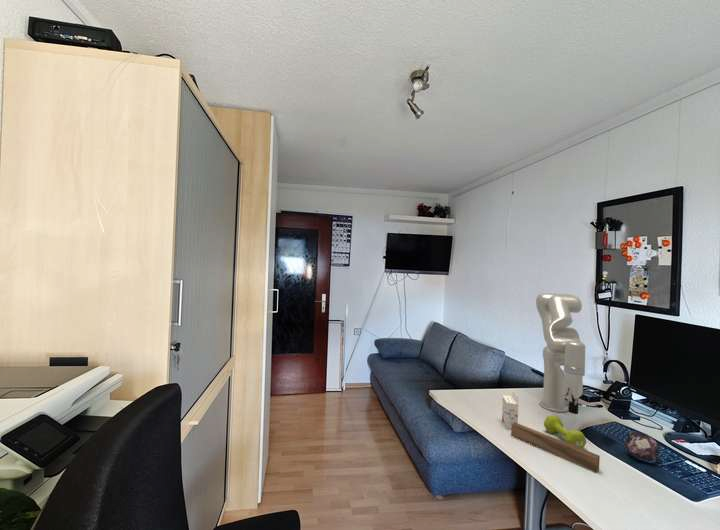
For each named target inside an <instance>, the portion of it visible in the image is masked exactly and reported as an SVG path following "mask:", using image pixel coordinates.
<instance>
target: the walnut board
mask: <svg viewBox="0 0 720 530" xmlns="http://www.w3.org/2000/svg"><path fill="white" fill-rule="evenodd" d="M510 430H511V431H510V433H511V434H510V436H511V435H512V436H514V437H513V438H515V437H516V438H515V439H517V438H518V439H517V440H519V439H520V440H519V441H522V442H524V441H525V443H526V442H527V443H526V444H529V443H530V444H529V445H531V444H532V445H531V446H533V445H534V447H536V446H537V447H536V448H538V447H539V448H538V449H540V448H541V450H542V449H543V451H545V452H547V453H549V454H552V455H554V456H557V457H559V458H561V459H563V460H566V461H568V462H570V463H572V464H575V465H578V466H580V467H582V468H584V469H587V470H589V471H591V472H594V473H598V472H599V471H600V460H601V459H600V458H601V456H600V455H599V454H596V453H593V452H591V451H589V450H587V449H584V448H583V449H581V448H579V447H576V446H574V445H571V444H569V443H566V441H565V440H561V439H558V438H556V437H554V436H550V435H549V434H547V433H543V432H540V431H539V430H536V429H534V428H531V427H528V426H526V425H523V424H520V423H519V422H518V423H516V422H514V423H513V424H512V426H511V429H510ZM512 436H511V437H512Z"/></svg>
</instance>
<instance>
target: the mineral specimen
mask: <svg viewBox="0 0 720 530" xmlns="http://www.w3.org/2000/svg"><path fill="white" fill-rule="evenodd" d="M624 448H625V450H626V451H627V452H628V453H629V454H630V455H631V454H632V455H633V456H635V457H637V458H640V459H644V460H647V461H653V462H654V463H656V460H657V458H658V457H659V455H660V453H661V450H660V446H659V444H658V443H657V441H656V440H655V439H654V438H652V437H651V436H650V435H648V434H647V433H643V432H640V431H637V430H631V431H630V432H629V433H628V435H627V437H626V438H625V441H624ZM632 455H631V456H632ZM633 456H632V457H633ZM635 457H634V458H635Z"/></svg>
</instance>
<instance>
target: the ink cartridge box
mask: <svg viewBox="0 0 720 530" xmlns="http://www.w3.org/2000/svg"><path fill="white" fill-rule="evenodd" d="M512 395H513V396H511V395H502V406H501V407H502V411H501V412H502V414H501V421H502V420H503V421H502V423H503V422H504V423H503V425H504V427H505V429H506V428H508V429H507V430H511V426H512V424H513V423H514V422H516V423H518V424H519V399H518V395H517V393H516V392H515V390H512Z"/></svg>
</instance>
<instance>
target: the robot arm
mask: <svg viewBox="0 0 720 530" xmlns="http://www.w3.org/2000/svg"><path fill="white" fill-rule="evenodd" d="M535 305H536V309H537V312H538V314H539V316H540V319H541V325H542V332H543V339H544V341H545V342H546V346H544V347H543V350H542V357H543V358H542V359H543V389H542V390H543V393H542V395H543V396H542V397H543V399H540V400H539V406H540V407H542V408H543V409H545V410H547V411H551V412H556V413H566V412H568V413H570V414H574V415H577V414H579V402H580V401H579V400H580V399H579V398H580V397H581V396H583V391H584V389H583V388H584V381H583V379H584V378H583V377H585V375H586V374H585V373H586V345H585V343H584V342H582V341H581V339H580V334H579V333H578V331H577V330H576V328H573V327H569V326H571V325H572V323H573V318H572V313H575V314H577V313H580V312H581V311H582V307H583V306H582V305H583V304H582V301H581V299H580V298H579V297H578V296H576V295H573V294H566V293H552V292H551V293H550V292H549V293H547V292H545V293H539V294H538V295H537V296H536V300H535ZM561 366H563V369H562V367H561ZM566 397H567V401H568V405H566V404H565V400H566Z"/></svg>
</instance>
